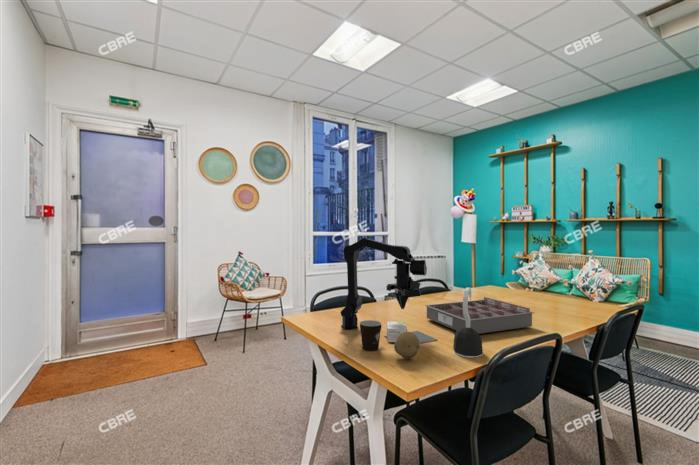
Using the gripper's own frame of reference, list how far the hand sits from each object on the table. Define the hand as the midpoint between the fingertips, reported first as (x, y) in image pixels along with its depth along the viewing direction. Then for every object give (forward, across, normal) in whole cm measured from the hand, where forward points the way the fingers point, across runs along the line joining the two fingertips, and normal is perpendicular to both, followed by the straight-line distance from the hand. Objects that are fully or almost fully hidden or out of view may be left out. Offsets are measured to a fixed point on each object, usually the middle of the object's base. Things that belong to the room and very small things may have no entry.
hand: (402, 309), depth 150 cm
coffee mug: (+12, -9, +20) cm, 25 cm away
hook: (+12, -29, -10) cm, 33 cm away
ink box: (+9, +4, +1) cm, 9 cm away
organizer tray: (+12, -2, -43) cm, 45 cm away
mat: (+12, -6, 0) cm, 13 cm away
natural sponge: (+12, -25, +15) cm, 31 cm away
